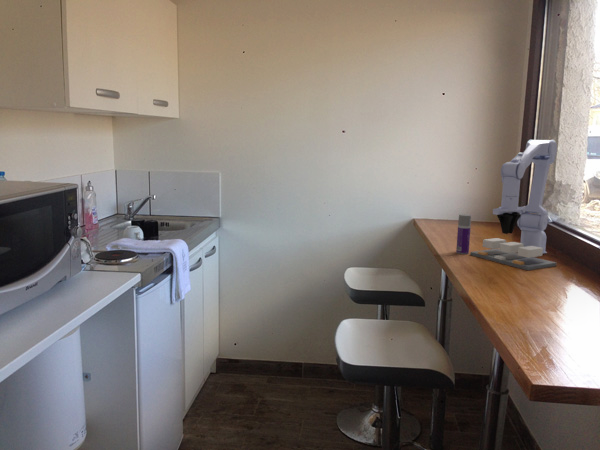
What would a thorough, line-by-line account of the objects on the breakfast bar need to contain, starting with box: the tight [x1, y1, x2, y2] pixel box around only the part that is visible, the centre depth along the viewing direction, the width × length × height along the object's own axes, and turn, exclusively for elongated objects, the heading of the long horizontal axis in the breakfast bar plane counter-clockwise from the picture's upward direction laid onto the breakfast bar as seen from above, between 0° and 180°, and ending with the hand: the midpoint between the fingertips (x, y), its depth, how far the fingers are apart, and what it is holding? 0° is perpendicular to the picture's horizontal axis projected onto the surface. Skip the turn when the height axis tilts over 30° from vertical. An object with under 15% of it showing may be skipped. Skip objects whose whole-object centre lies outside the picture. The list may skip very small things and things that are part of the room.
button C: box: [517, 246, 544, 258], centre depth 188 cm, size 8×4×3 cm, turn 119°
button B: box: [499, 241, 524, 253], centre depth 195 cm, size 8×4×3 cm, turn 119°
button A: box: [482, 237, 507, 250], centre depth 202 cm, size 8×4×3 cm, turn 119°
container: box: [455, 213, 472, 255], centre depth 206 cm, size 5×5×15 cm
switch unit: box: [469, 248, 558, 271], centre depth 196 cm, size 15×26×2 cm, turn 29°
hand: (507, 233), depth 193 cm, fingers closed
